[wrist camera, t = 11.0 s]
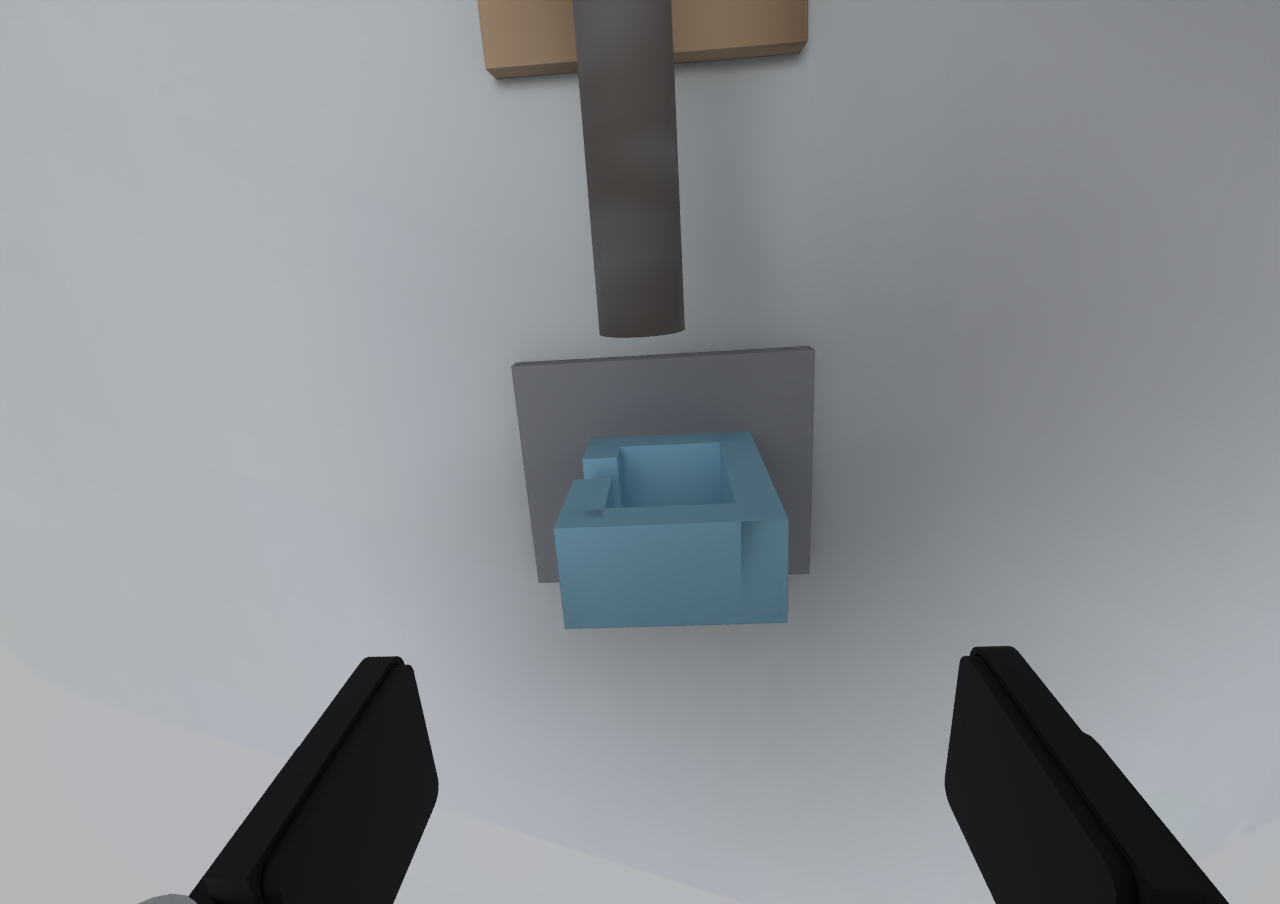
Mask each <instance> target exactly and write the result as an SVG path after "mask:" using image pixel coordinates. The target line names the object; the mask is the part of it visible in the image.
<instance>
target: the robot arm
mask: <svg viewBox="0 0 1280 904" xmlns="http://www.w3.org/2000/svg"><path fill="white" fill-rule="evenodd" d="M945 790H946V795H947V799H948V802H949V805H950V807H951V809H952V811H953V813H954V816H955V818H956V820H957V822H958V824H959V826H960V828H961V830H962V833H963V835H964V837H965V839H966V841H967V843H968V845H969V847H970V850H971V852H972V854H973V856H974V858H975V860H976V862H977V865H978V867H979V869H980V871H981V873H982V875H983V877H984V879H985V882H986V884H987V886H988V888H989V890H990V892H991V894H992V896H993V899H994V901H995V903H996V904H1229V903H1228V902H1227V901H1226V899H1225V898H1224V897H1223V896H1222V894H1221V893H1220V892H1219V891H1218V890H1217V888H1216V887H1215V886H1214V885H1213V883H1212V882H1211V881H1210V880H1209V878H1208V877H1207V876H1206V875H1205V873H1204V872H1203V871H1202V870H1201V869H1200V867H1199V866H1198V865H1197V864H1196V862H1195V861H1194V860H1193V859H1192V857H1191V856H1190V855H1189V854H1188V853H1187V851H1186V850H1185V849H1184V848H1183V846H1182V845H1181V844H1180V843H1179V842H1178V840H1177V839H1176V838H1175V837H1174V835H1173V834H1172V833H1171V832H1170V830H1169V829H1168V828H1167V827H1166V826H1165V824H1164V823H1163V822H1162V821H1161V819H1160V818H1159V817H1158V816H1157V815H1156V813H1155V812H1154V811H1153V810H1152V808H1151V807H1150V806H1149V805H1148V803H1147V802H1146V801H1145V800H1144V799H1143V797H1142V796H1141V795H1140V794H1139V792H1138V791H1137V790H1136V789H1135V788H1134V786H1133V785H1132V784H1131V783H1130V781H1129V780H1128V779H1127V778H1126V776H1125V775H1124V774H1123V773H1122V772H1121V770H1120V769H1119V768H1118V767H1117V765H1116V764H1115V763H1114V762H1113V760H1112V759H1111V758H1110V757H1109V756H1108V754H1107V753H1106V752H1105V751H1104V749H1103V748H1102V747H1101V746H1100V745H1099V744H1098V743H1097V742H1096V741H1095V740H1094V739H1093V738H1092V737H1091V736H1090V735H1088V734H1086V733H1084V732H1082V731H1081V729H1080V728H1079V727H1078V726H1077V724H1076V723H1075V722H1074V721H1073V719H1072V718H1071V717H1070V716H1069V714H1068V713H1067V712H1066V711H1065V709H1064V708H1063V707H1062V706H1061V704H1060V703H1059V702H1058V701H1057V699H1056V698H1055V697H1054V696H1053V694H1052V693H1051V692H1050V691H1049V689H1048V688H1047V687H1046V686H1045V684H1044V683H1043V682H1042V681H1041V679H1040V678H1039V677H1038V676H1037V674H1036V673H1035V672H1034V671H1033V669H1032V668H1031V667H1030V666H1029V664H1028V663H1027V662H1026V661H1025V659H1024V658H1023V657H1022V656H1021V654H1020V653H1019V652H1018V651H1017V650H1016V649H1015V648H1014V647H1011V646H989V647H974V648H973V649H972V650H971V652H970V656H963V657H962V658H961V660H960V664H959V671H958V679H957V687H956V695H955V703H954V710H953V718H952V726H951V734H950V742H949V750H948V757H947V765H946V773H945ZM437 796H438V777H437V772H436V768H435V764H434V759H433V755H432V750H431V746H430V741H429V737H428V732H427V728H426V724H425V719H424V715H423V710H422V706H421V701H420V697H419V693H418V688H417V684H416V679H415V675H414V671H413V668H412V667H411V665H405V664H404V661H403V660H402V658H401V657H398V656H392V657H367V658H364V660H363V661H362V662H361V663H360V664H359V665H358V667H357V668H356V669H355V671H354V672H353V674H352V675H351V676H350V678H349V679H348V680H347V682H346V683H345V684H344V686H343V687H342V689H341V690H340V691H339V693H338V694H337V695H336V697H335V698H334V700H333V701H332V702H331V704H330V705H329V706H328V708H327V709H326V710H325V712H324V713H323V715H322V716H321V717H320V719H319V720H318V721H317V723H316V724H315V725H314V727H313V728H312V730H311V731H310V732H309V734H308V735H307V736H306V738H305V739H304V740H303V742H302V743H301V745H300V746H299V747H298V748H297V749H296V751H295V752H294V753H293V755H292V756H291V757H290V759H289V760H288V761H287V763H286V764H285V766H284V767H283V768H282V770H281V771H280V772H279V774H278V775H277V776H276V778H275V779H274V781H273V782H272V783H271V785H270V786H269V787H268V789H267V790H266V792H265V793H264V794H263V796H262V797H261V798H260V800H259V801H258V802H257V804H256V805H255V806H254V808H253V809H252V811H251V812H250V813H249V815H248V816H247V817H246V819H245V820H244V821H243V823H242V824H241V826H240V827H239V828H238V830H237V831H236V832H235V834H234V835H233V837H232V838H231V839H230V841H229V842H228V843H227V845H226V846H225V847H224V849H223V850H222V852H221V853H220V854H219V856H218V857H217V858H216V860H215V861H214V862H213V864H212V865H211V866H210V868H209V869H208V871H207V872H206V873H205V875H204V876H203V877H202V879H201V880H200V881H199V883H198V884H197V886H196V887H195V888H194V890H193V891H192V892H191V894H190V895H189V896H185V895H177V894H168V895H163V896H158V897H153V898H151V899H148V900H146V901H144V902H141V903H139V904H393V903H394V900H395V898H396V896H397V893H398V891H399V889H400V886H401V884H402V881H403V879H404V877H405V874H406V872H407V870H408V867H409V865H410V863H411V860H412V858H413V855H414V853H415V851H416V848H417V846H418V843H419V841H420V839H421V836H422V834H423V832H424V829H425V827H426V825H427V822H428V820H429V818H430V815H431V813H432V811H433V808H434V806H435V803H436V800H437Z"/></svg>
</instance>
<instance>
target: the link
mask: <svg viewBox="0 0 1280 904" xmlns="http://www.w3.org/2000/svg"><path fill="white" fill-rule="evenodd" d="M582 461H583V472H584V479H577V480H573V483H572V485H571V488H570V490H569V492H568V495H567V497H566V500H565V502H564V505H563V507H562V509H561V512H560V514H559V517H558V519H557V522H556V524H555V526H554V537H555V546H556V555H557V563H558V572H559V581H560V589H561V598H562V607H563V615H564V624H565V629H580V628H615V627H651V626H686V625H721V624H757V623H787V610H788V523H789V520H788V517H787V515H786V513H785V510H784V508H783V506H782V504H781V501H780V499H779V497H778V494H777V492H776V490H775V488H774V485H773V483H772V481H771V479H770V476H769V474H768V472H767V469H766V467H765V465H764V463H763V460H762V458H761V456H760V453H759V451H758V449H757V447H756V444H755V442H754V440H753V437H752V435H751V433H750V431H746V432H725V433H704V434H683V435H661V436H640V437H619V438H598V439H590V442H589V444H588V447H587V449H586V451H585V454H584V456H583V459H582Z"/></svg>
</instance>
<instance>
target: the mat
mask: <svg viewBox="0 0 1280 904" xmlns="http://www.w3.org/2000/svg"><path fill="white" fill-rule="evenodd" d="M511 368H512V376H513V384H514V392H515V399H516V407H517V415H518V423H519V431H520V438H521V446H522V454H523V462H524V470H525V478H526V485H527V493H528V501H529V509H530V517H531V525H532V532H533V540H534V548H535V556H536V564H537V572H538V579H539V583H550V582H560V581H559V572H558V563H557V555H556V546H555V537H554V526H555V524H556V522H557V519H558V517H559V514H560V512H561V509H562V507H563V505H564V502H565V500H566V497H567V495H568V492H569V490H570V488H571V485H572V483H573V480H577V479H584V472H583V461H582V459H583V456H584V454H585V451H586V449H587V447H588V444H589V442H590V439H598V438H619V437H640V436H661V435H683V434H704V433H725V432H746V431H750V433H751V435H752V437H753V440H754V442H755V444H756V447H757V449H758V451H759V453H760V456H761V458H762V460H763V463H764V465H765V467H766V469H767V472H768V474H769V476H770V479H771V481H772V483H773V485H774V488H775V490H776V492H777V494H778V497H779V499H780V501H781V504H782V506H783V508H784V510H785V513H786V515H787V517H788V520H789V523H788V574H809V564H810V519H811V475H812V430H813V385H814V349H813V348H811V347H810V346H806V347H788V348H770V349H753V350H735V351H717V352H699V353H681V354H663V355H646V356H628V357H610V358H592V359H574V360H557V361H539V362H521V363H515V364H514V365H513V366H511Z"/></svg>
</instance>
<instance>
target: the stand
mask: <svg viewBox="0 0 1280 904" xmlns="http://www.w3.org/2000/svg"><path fill="white" fill-rule="evenodd" d="M477 2H478V10H479V19H480V27H481V35H482V43H483V51H484V59H485V68H486V70H487V71H488V72H489V73H490V74H491V75H492V76H494V77H495V78H496V79H498V78H510V77H521V76H533V75H545V74H557V73H568V72H578V76H579V88H580V100H581V112H582V124H583V136H584V149H585V161H586V173H587V185H588V197H589V209H590V221H591V233H592V245H593V258H594V270H595V282H596V294H597V306H598V318H599V330H600V335H601V336H605V337H616V338H631V337H649V336H659V335H666V334H672V333H677V332H681V331H683V330H684V329H685V324H684V299H683V275H682V250H681V226H680V202H679V177H678V153H677V128H676V104H675V79H674V63H686V62H698V61H709V60H721V59H733V58H745V57H756V56H768V55H780V54H792V53H800V52H801V50H802V49H803V47H804V46H805V44H806V43H807V41H808V0H477Z"/></svg>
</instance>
